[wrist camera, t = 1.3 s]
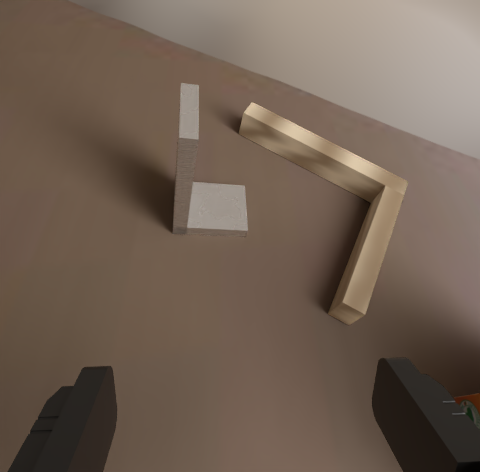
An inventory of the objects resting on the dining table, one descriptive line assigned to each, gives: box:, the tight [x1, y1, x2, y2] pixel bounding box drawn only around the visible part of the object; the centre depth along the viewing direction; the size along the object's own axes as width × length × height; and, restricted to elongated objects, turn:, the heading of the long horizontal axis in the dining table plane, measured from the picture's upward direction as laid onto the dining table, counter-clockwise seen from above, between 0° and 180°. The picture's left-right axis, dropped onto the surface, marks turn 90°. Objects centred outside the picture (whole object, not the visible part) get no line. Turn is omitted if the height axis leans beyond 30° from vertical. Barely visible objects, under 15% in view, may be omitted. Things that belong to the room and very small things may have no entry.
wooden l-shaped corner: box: [239, 102, 408, 325], centre depth 36 cm, size 18×16×3 cm
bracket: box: [173, 83, 248, 237], centre depth 30 cm, size 7×5×12 cm
